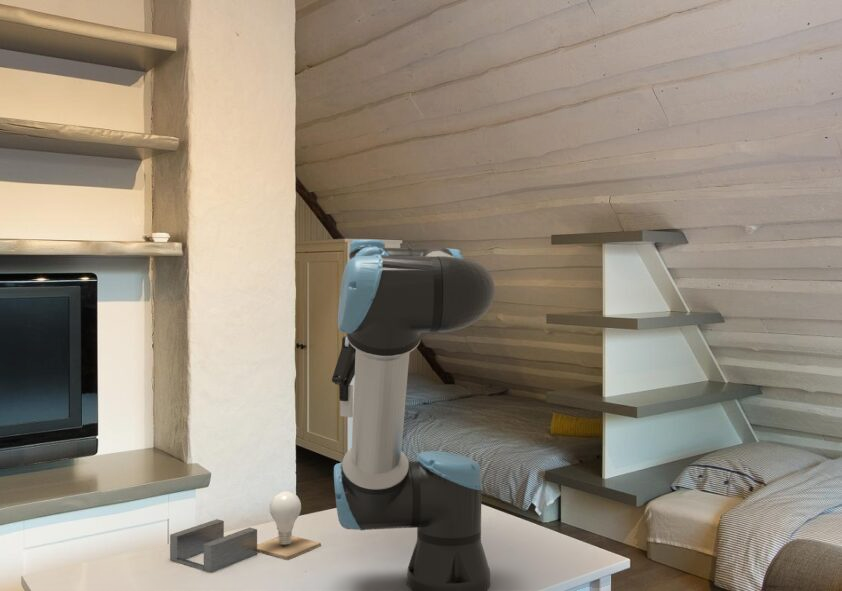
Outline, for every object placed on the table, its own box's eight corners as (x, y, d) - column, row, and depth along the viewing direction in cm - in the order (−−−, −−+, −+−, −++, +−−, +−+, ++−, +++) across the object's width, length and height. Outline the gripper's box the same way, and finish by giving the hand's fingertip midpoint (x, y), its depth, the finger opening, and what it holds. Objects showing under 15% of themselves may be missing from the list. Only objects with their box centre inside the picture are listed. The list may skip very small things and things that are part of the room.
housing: (257, 554, 159) (257, 529, 159) (210, 572, 149) (211, 546, 149) (216, 543, 165) (217, 519, 165) (170, 560, 155) (170, 534, 155)
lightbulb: (293, 551, 159) (294, 496, 159) (264, 549, 160) (264, 494, 160) (304, 541, 165) (305, 488, 165) (276, 539, 166) (276, 486, 166)
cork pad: (320, 545, 164) (320, 542, 164) (287, 559, 156) (287, 556, 156) (284, 536, 170) (284, 533, 170) (250, 549, 162) (250, 547, 161)
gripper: (386, 310, 182) (386, 402, 182) (314, 313, 161) (314, 418, 161) (414, 311, 178) (413, 405, 178) (344, 315, 157) (343, 422, 157)
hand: (366, 412), depth 170 cm, fingers open, 13 cm apart
